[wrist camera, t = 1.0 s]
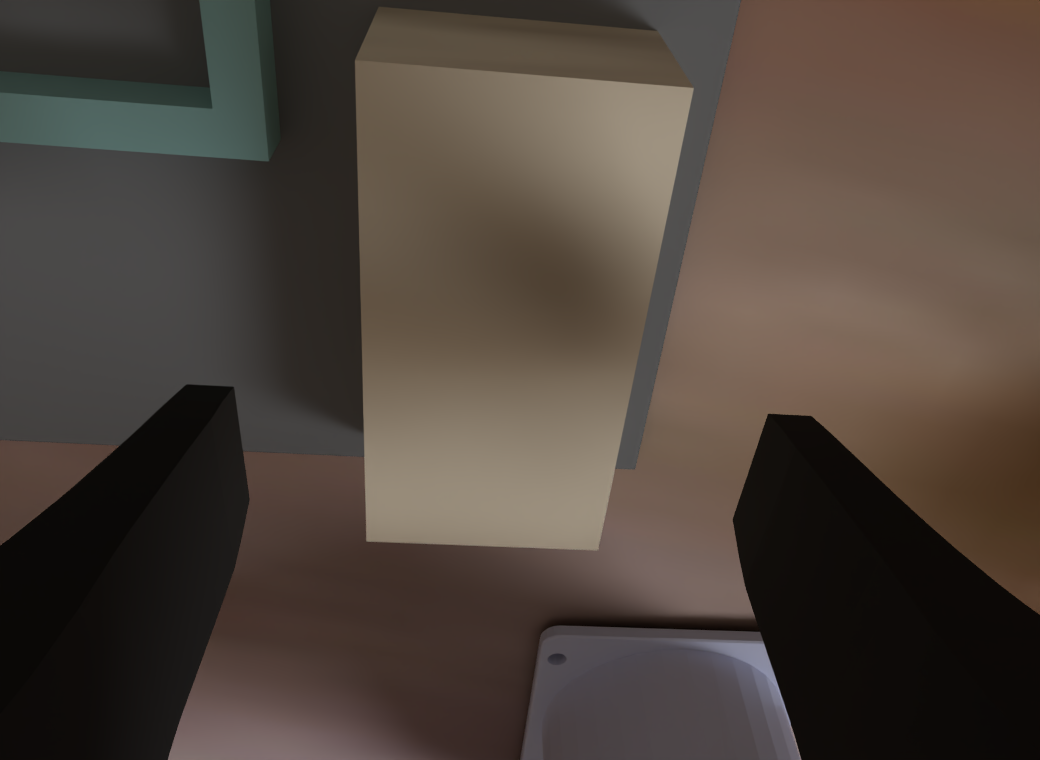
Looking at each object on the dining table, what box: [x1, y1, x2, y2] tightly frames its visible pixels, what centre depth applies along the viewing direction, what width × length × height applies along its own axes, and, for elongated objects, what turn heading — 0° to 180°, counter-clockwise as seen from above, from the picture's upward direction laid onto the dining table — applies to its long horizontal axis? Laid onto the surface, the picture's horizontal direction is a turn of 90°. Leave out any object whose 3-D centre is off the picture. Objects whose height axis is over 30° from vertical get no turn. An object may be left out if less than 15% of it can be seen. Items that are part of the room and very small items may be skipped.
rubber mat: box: [0, 0, 741, 469], centre depth 14 cm, size 18×20×1 cm
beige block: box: [355, 7, 694, 550], centre depth 15 cm, size 9×4×3 cm, turn 175°
